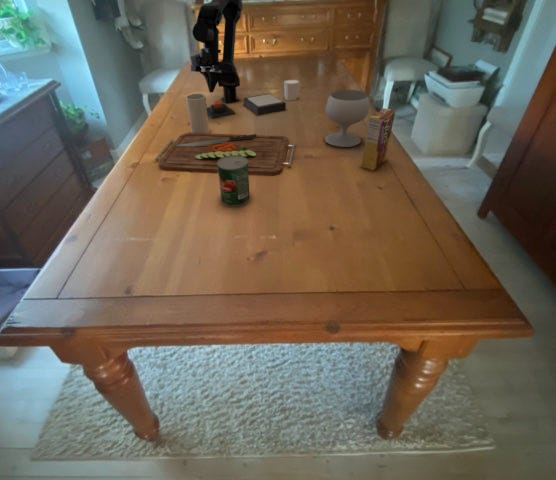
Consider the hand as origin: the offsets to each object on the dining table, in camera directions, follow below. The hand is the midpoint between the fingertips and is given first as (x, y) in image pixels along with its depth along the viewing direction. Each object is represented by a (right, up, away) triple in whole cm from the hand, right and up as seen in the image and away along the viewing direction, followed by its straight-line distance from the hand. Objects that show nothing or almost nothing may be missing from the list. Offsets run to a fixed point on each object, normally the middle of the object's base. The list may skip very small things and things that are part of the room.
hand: (211, 92), depth 137 cm
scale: (+21, 0, +13) cm, 25 cm away
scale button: (+2, -1, +10) cm, 10 cm away
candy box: (+54, -37, -28) cm, 71 cm away
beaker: (-3, -18, -5) cm, 19 cm away
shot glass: (+34, +8, +21) cm, 41 cm away
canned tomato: (+12, -50, -41) cm, 66 cm away
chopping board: (+7, -31, -19) cm, 37 cm away
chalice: (+48, -25, -15) cm, 56 cm away
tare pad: (+2, -3, +11) cm, 12 cm away
